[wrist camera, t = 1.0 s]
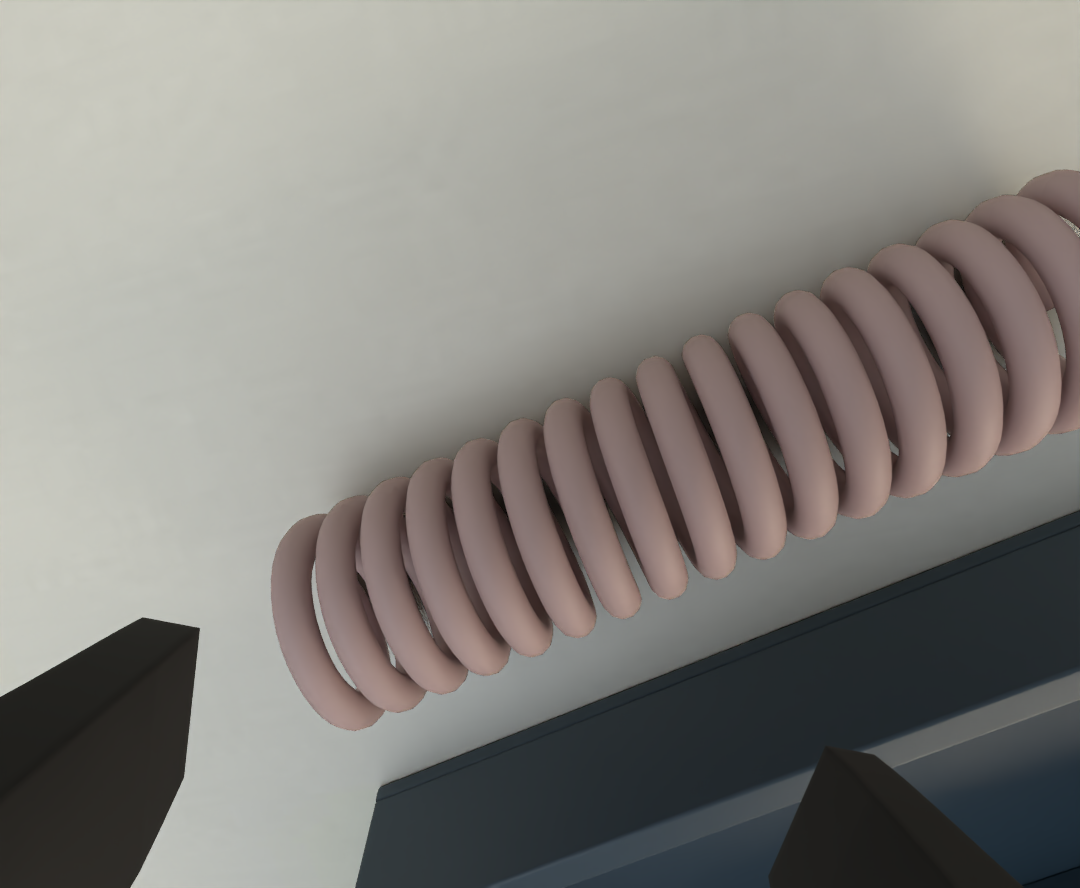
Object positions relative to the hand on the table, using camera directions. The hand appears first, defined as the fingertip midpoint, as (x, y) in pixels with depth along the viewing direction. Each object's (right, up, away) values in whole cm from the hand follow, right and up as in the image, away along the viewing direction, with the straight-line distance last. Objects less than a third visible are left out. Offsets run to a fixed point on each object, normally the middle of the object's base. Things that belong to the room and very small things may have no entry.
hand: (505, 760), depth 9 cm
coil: (+3, +4, +9) cm, 11 cm away
